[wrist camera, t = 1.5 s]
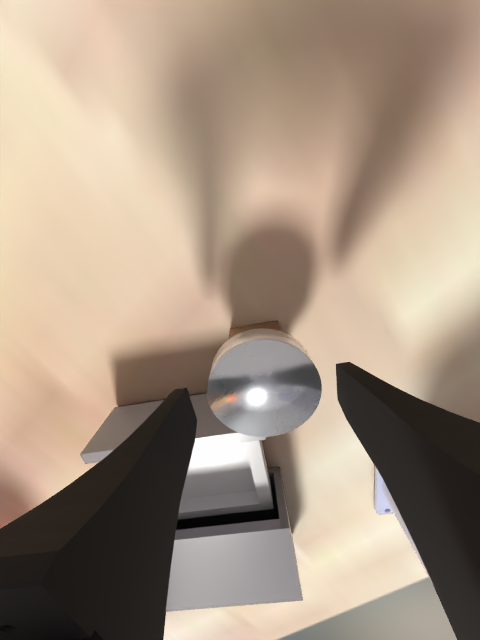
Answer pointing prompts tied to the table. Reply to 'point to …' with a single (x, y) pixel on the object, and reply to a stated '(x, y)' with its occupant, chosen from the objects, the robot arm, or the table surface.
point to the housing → (235, 558)
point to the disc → (263, 383)
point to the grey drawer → (200, 461)
